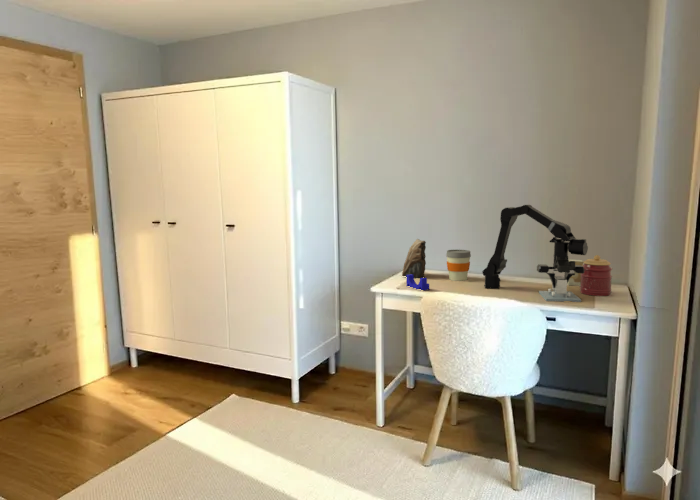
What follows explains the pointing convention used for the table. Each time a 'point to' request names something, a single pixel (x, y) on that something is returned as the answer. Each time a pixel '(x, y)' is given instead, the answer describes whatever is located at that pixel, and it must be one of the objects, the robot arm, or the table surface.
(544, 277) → the table surface
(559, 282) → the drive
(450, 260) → the reusable coffee cup
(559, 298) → the pin tray
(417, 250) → the brown tall pointed piece
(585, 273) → the canister
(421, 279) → the cable clip
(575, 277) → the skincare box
